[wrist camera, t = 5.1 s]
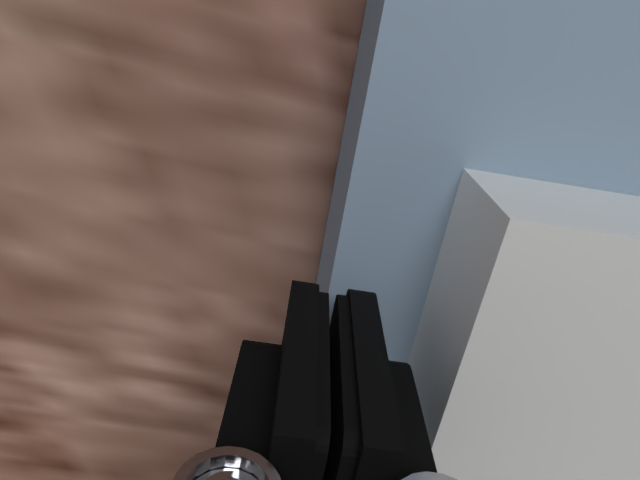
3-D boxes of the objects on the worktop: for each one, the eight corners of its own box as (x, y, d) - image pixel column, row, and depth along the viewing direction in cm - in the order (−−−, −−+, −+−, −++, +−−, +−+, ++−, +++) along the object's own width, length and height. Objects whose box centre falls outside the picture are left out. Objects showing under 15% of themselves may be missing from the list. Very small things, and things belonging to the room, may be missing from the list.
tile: (869, 233, 10) (1040, 301, 7) (679, 515, 13) (757, 624, 10) (463, 168, 9) (510, 218, 7) (374, 477, 12) (385, 583, 10)
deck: (1019, -58, 11) (1367, -95, 7) (639, 538, 19) (714, 661, 15) (399, -182, 10) (442, -296, 6) (277, 494, 18) (266, 613, 15)
